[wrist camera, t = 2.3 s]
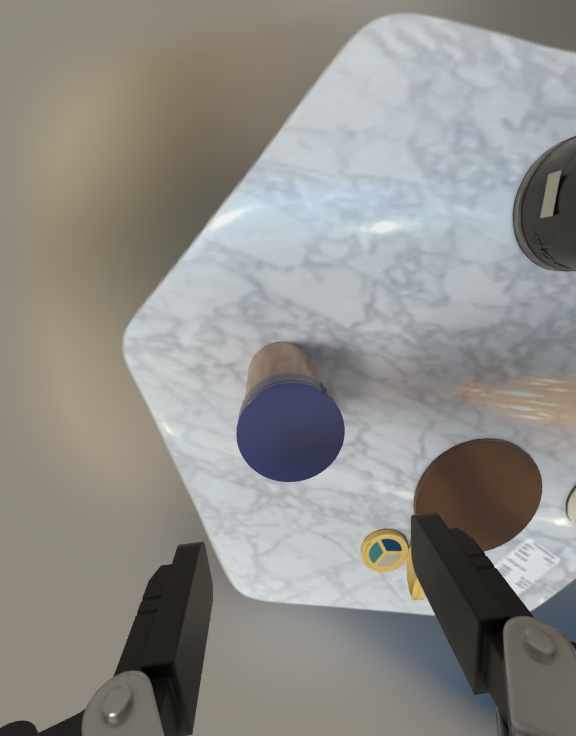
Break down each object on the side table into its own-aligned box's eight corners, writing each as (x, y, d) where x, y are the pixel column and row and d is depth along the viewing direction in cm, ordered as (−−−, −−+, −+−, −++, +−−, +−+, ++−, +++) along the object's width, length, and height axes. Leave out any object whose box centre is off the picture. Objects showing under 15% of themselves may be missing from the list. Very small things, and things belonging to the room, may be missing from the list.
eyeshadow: (364, 528, 34) (380, 571, 30) (415, 529, 35) (438, 571, 30) (358, 566, 36) (373, 612, 31) (408, 566, 36) (430, 612, 31)
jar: (276, 328, 29) (283, 362, 19) (327, 369, 30) (360, 422, 20) (235, 379, 30) (219, 439, 20) (286, 417, 31) (296, 491, 21)
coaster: (480, 413, 32) (484, 416, 31) (562, 485, 35) (567, 489, 34) (387, 507, 34) (389, 511, 33) (472, 568, 37) (475, 573, 36)
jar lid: (282, 351, 20) (284, 359, 18) (358, 410, 21) (367, 424, 19) (218, 428, 21) (214, 444, 19) (295, 481, 22) (298, 500, 20)
